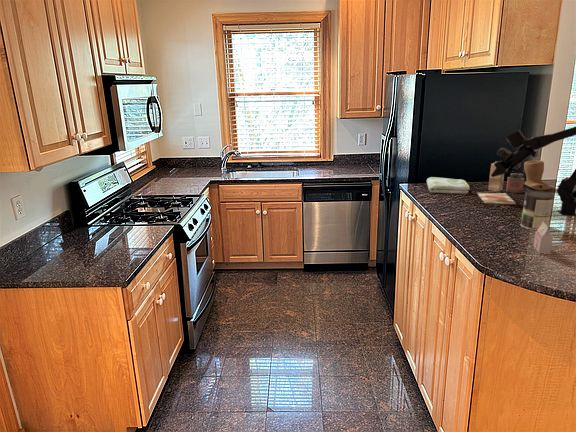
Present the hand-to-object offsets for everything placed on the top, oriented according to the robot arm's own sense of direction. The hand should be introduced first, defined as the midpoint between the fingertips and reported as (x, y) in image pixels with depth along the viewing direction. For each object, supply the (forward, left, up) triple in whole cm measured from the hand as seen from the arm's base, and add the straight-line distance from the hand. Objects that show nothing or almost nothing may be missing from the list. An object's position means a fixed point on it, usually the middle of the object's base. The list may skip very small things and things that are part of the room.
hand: (494, 175), depth 216 cm
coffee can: (-41, -7, -13) cm, 44 cm away
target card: (+1, -2, -12) cm, 13 cm away
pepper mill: (-1, -1, -7) cm, 7 cm away
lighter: (+17, -15, -13) cm, 26 cm away
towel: (+19, +19, -13) cm, 29 cm away
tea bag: (-68, -1, -13) cm, 69 cm away
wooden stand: (+27, -28, -13) cm, 41 cm away
